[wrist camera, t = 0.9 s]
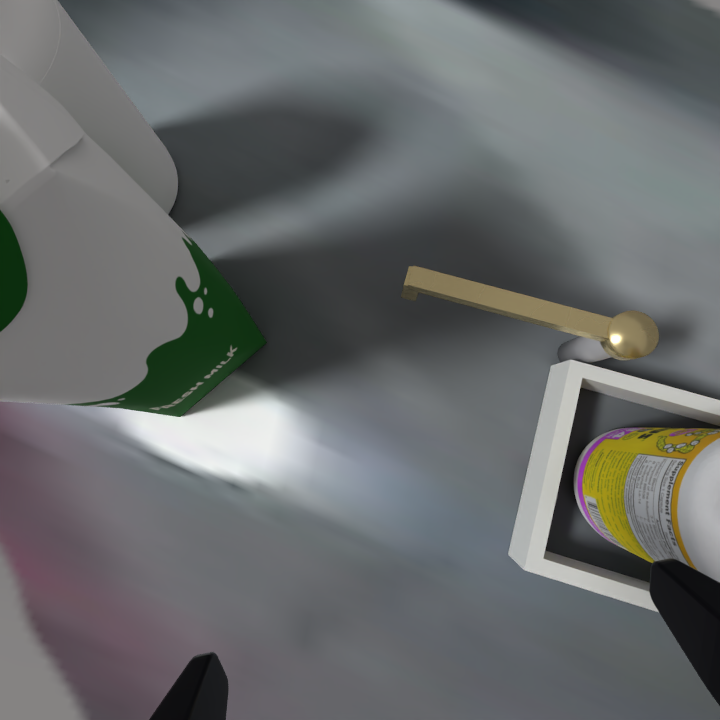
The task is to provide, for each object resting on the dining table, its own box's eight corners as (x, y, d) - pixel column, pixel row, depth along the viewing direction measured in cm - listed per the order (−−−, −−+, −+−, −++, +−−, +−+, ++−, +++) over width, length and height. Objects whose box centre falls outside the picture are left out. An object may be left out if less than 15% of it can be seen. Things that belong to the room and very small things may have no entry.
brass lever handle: (623, 369, 21) (654, 363, 19) (397, 307, 22) (400, 294, 20) (631, 329, 21) (662, 317, 19) (408, 269, 22) (412, 252, 20)
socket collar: (710, 617, 22) (805, 672, 17) (508, 554, 23) (544, 590, 18) (746, 388, 24) (842, 380, 19) (557, 337, 25) (603, 316, 20)
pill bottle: (143, 266, 27) (-146, 69, 12) (42, 214, 27) (-350, -32, 12) (205, 165, 28) (10, -136, 13) (105, 118, 28) (-189, -218, 13)
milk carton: (177, 438, 25) (-590, 503, 5) (91, 329, 26) (-800, 36, 6) (288, 343, 25) (-4, 70, 6) (199, 241, 27) (-297, -276, 7)
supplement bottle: (695, 446, 24) (1064, 472, 11) (674, 562, 23) (1048, 734, 10) (580, 412, 24) (807, 401, 12) (555, 525, 23) (772, 646, 11)
